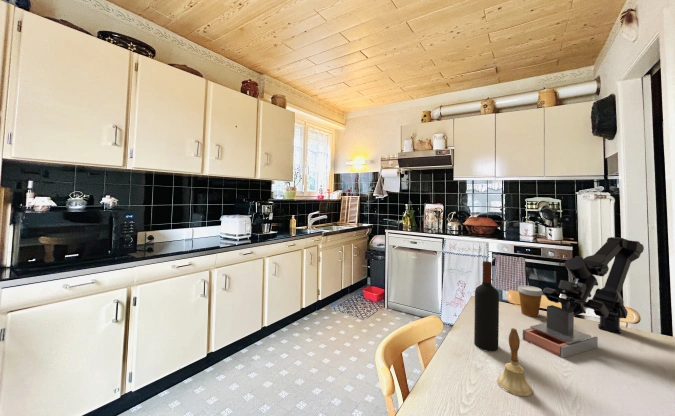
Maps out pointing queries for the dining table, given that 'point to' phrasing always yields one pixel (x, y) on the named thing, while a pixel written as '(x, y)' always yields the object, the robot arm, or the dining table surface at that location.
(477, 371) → the dining table surface
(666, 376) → the dining table surface
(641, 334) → the dining table surface
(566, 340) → the lid
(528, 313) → the disposable coffee cup
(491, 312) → the wine bottle
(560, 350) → the grey box tray
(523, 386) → the hand bell
